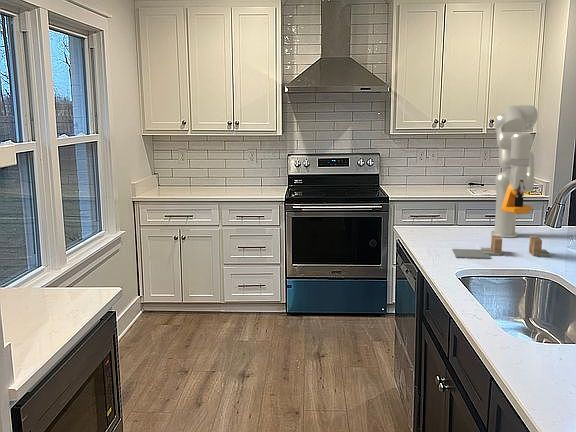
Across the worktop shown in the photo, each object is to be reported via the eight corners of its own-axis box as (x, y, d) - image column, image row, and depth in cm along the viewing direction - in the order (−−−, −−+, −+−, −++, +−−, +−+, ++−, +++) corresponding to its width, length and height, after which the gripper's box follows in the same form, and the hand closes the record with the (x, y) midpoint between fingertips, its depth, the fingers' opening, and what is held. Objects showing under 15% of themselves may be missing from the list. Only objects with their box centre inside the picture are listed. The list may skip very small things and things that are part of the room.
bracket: (515, 214, 234) (517, 186, 232) (501, 212, 240) (502, 184, 238) (532, 212, 239) (534, 184, 237) (518, 210, 245) (520, 182, 243)
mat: (452, 250, 250) (452, 248, 250) (485, 251, 248) (485, 249, 248) (456, 257, 237) (456, 256, 237) (490, 258, 234) (491, 257, 234)
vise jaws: (480, 249, 250) (481, 234, 249) (545, 251, 246) (546, 236, 244) (484, 255, 240) (485, 239, 239) (551, 257, 236) (552, 241, 235)
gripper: (506, 161, 245) (503, 202, 248) (515, 164, 228) (512, 208, 232) (524, 161, 244) (521, 202, 247) (534, 164, 227) (531, 209, 230)
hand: (517, 205), depth 239 cm, fingers closed on bracket, 4 cm apart
